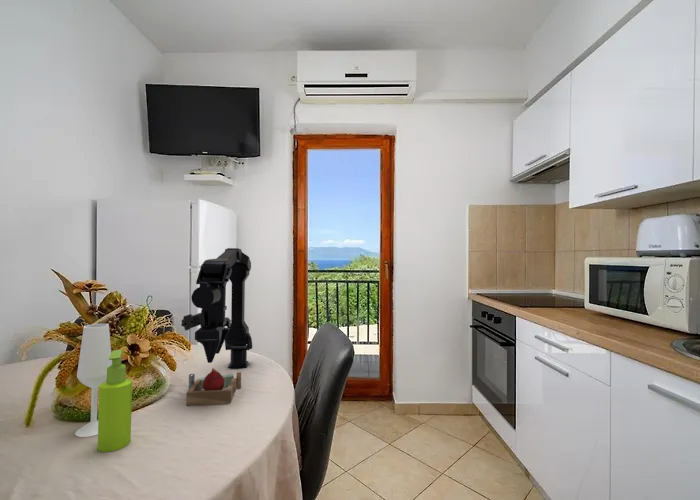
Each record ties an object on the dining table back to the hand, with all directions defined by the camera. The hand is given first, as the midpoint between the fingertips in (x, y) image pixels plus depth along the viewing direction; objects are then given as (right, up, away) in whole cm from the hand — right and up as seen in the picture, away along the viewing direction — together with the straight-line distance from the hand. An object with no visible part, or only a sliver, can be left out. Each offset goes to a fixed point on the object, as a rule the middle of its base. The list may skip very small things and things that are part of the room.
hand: (213, 357), depth 100 cm
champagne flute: (-20, -11, -20) cm, 30 cm away
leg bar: (-2, -11, +7) cm, 14 cm away
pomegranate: (0, -11, 0) cm, 11 cm away
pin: (-9, -11, +5) cm, 15 cm away
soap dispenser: (-11, -11, -26) cm, 30 cm away
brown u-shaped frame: (0, -11, 0) cm, 11 cm away
